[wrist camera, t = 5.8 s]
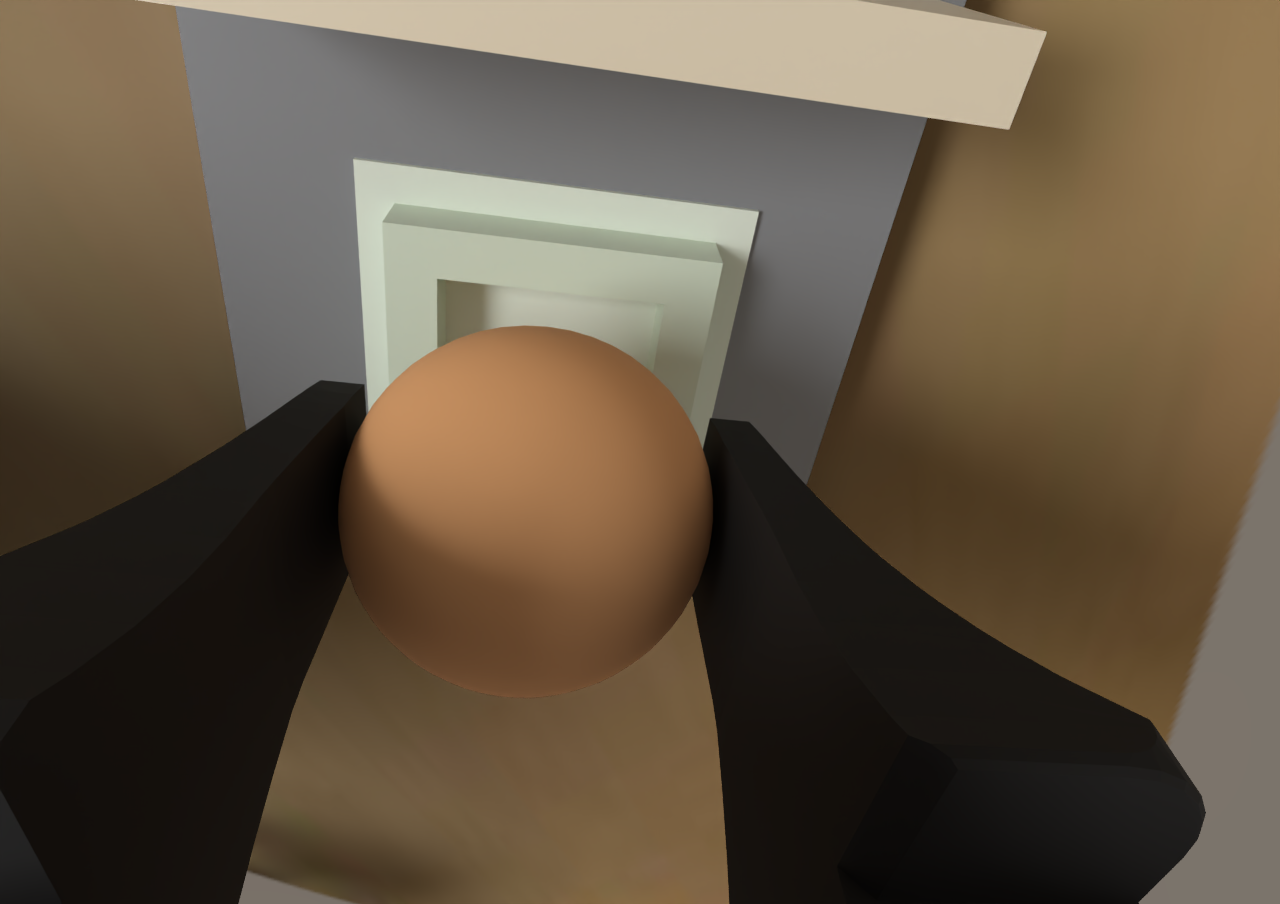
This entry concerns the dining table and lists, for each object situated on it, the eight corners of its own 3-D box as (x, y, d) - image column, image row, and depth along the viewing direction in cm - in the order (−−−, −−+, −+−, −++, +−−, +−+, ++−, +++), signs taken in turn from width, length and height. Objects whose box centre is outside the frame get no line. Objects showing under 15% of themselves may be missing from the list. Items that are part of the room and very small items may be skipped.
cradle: (688, 511, 17) (693, 543, 16) (374, 486, 16) (362, 518, 15) (757, 210, 13) (768, 231, 12) (354, 157, 12) (338, 176, 11)
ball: (666, 538, 15) (695, 786, 11) (390, 517, 14) (307, 770, 10) (721, 288, 12) (787, 492, 8) (378, 247, 11) (253, 446, 7)
